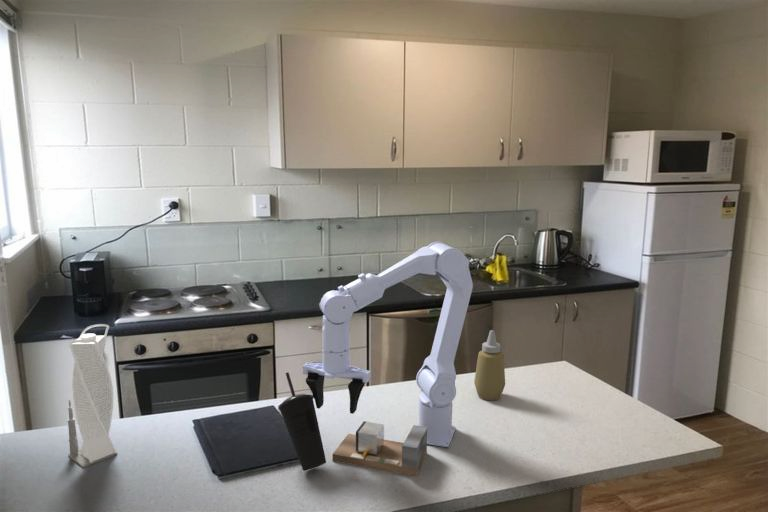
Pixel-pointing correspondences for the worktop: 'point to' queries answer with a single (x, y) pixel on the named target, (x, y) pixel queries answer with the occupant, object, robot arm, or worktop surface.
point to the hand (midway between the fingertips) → (336, 409)
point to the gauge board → (388, 453)
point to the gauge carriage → (369, 438)
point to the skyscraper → (91, 400)
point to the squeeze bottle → (490, 370)
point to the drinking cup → (303, 428)
